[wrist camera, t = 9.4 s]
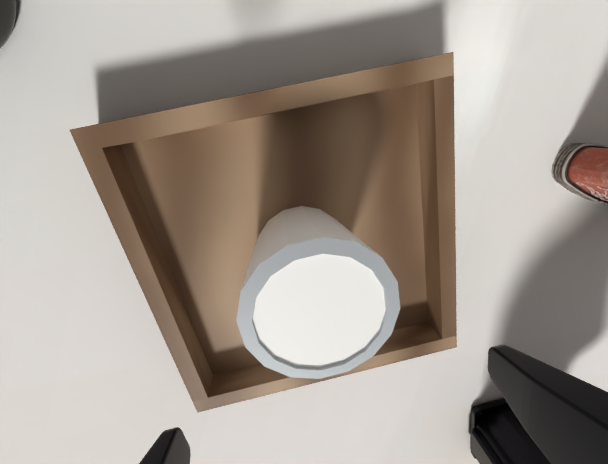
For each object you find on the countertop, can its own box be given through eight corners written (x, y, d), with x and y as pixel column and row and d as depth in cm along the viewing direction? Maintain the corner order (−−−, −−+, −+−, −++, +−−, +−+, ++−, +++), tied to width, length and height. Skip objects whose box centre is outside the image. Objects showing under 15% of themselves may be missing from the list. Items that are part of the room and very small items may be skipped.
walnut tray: (426, 62, 17) (453, 52, 14) (437, 324, 23) (456, 347, 21) (98, 128, 16) (69, 129, 13) (204, 381, 22) (197, 412, 20)
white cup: (249, 300, 20) (242, 389, 13) (242, 197, 17) (228, 242, 11) (352, 293, 20) (393, 373, 14) (358, 193, 18) (411, 234, 11)
